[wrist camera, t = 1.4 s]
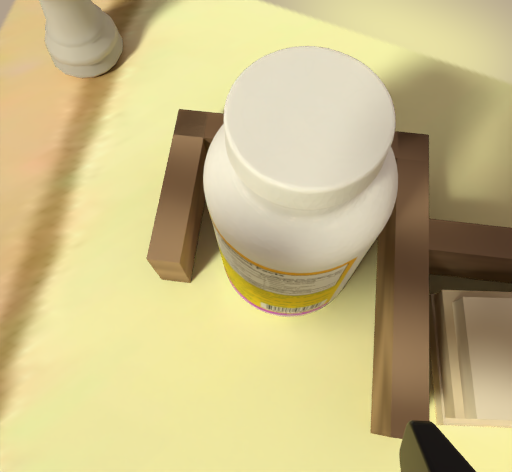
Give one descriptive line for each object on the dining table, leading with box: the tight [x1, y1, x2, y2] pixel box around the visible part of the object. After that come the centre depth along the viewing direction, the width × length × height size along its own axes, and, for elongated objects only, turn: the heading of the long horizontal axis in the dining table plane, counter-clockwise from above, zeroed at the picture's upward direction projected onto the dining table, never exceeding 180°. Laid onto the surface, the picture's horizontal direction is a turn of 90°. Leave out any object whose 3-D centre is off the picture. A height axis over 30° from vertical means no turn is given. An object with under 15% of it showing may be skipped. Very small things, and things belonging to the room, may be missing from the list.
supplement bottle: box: [203, 46, 398, 317], centre depth 19 cm, size 7×7×13 cm
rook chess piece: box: [39, 0, 123, 78], centre depth 26 cm, size 4×4×8 cm
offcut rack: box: [147, 109, 512, 439], centre depth 22 cm, size 14×24×4 cm, turn 83°
